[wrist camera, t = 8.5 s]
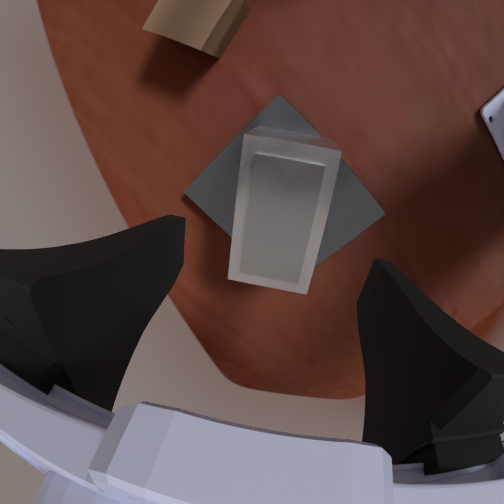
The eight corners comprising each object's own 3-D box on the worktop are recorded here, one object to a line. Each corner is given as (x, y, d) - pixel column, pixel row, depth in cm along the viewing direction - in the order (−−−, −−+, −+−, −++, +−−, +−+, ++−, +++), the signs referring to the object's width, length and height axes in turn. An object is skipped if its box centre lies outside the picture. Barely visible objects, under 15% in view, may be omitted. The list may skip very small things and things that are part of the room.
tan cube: (250, 10, 14) (238, -9, 11) (220, 58, 16) (200, 50, 13) (198, -9, 14) (176, -28, 10) (170, 38, 16) (142, 28, 12)
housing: (306, 255, 20) (306, 297, 16) (242, 242, 21) (226, 282, 17) (332, 139, 16) (342, 152, 12) (257, 125, 17) (242, 134, 13)
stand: (381, 207, 19) (385, 213, 18) (286, 279, 23) (285, 288, 22) (281, 94, 17) (279, 94, 16) (189, 187, 21) (183, 192, 20)
